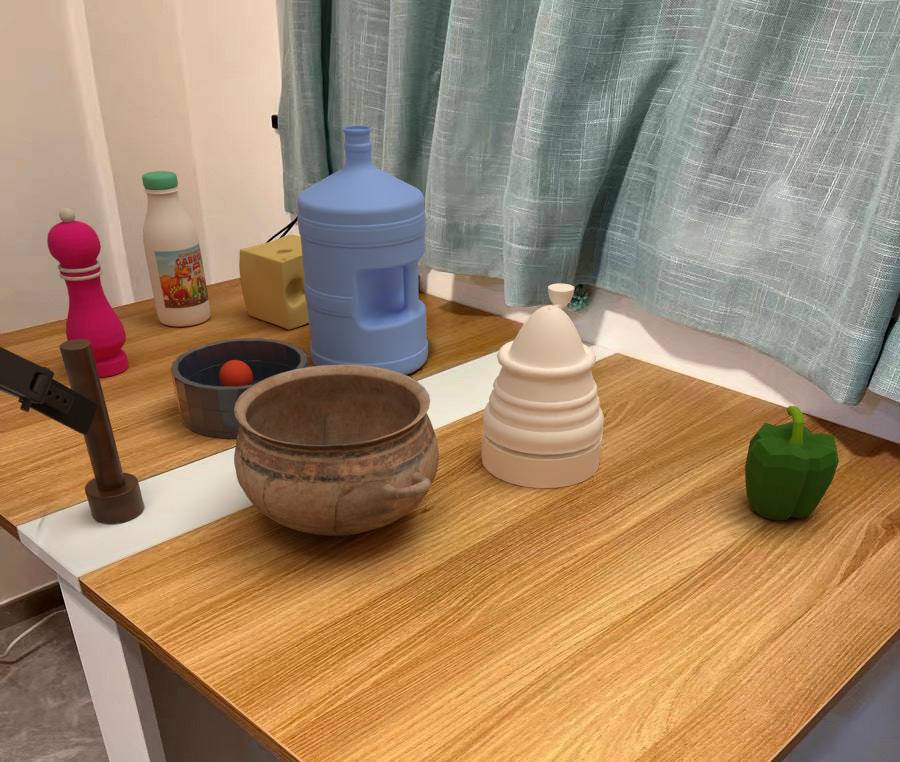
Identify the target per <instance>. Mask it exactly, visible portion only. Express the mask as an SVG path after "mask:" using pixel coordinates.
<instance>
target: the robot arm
mask: <svg viewBox="0 0 900 762" xmlns="http://www.w3.org/2000/svg"><path fill="white" fill-rule="evenodd" d="M55 374H56V373H55V372H54V371H53V370H51V368H49V367H47V366H42V365H39V364H38V363H36V362H33V361H31V360H29V359H27V358H25V357H23V356H21V355H18V354H17V353H14V352H12V351H11V350H8V349H6V348H4V347H3V346H2V347H1V346H0V391H1V392H3V393H6V394H8V395H10V396H12V397H15V398H17V399H18V400H17V402H18V403H20V404H21V405H20V407H19V410H20V411H23V412H25V413H29V412H30V410H31V409H32V410H34V411H36V412H38V413H39V414H42V415H44V416H46V417H48V418H49V419H51V420H53V421H55V422H57V423H59V424H61V425H63V426H65V427H67V428H68V429H70V430H73V431H75V432H76V433H78V434H82V435H83V434H85V435H87V433H88V430H89V428H90V425H91V423H92V420H93V418H94V415H95V413H96V410H97V407H98V404H96V403H95V402H93V401H91V400H89V399H88V398H86V397H84V396H82V395H80V394H79V393H77V392H75V391H73V390H72V389H71V388H70V387H68V386H66V385H64V384H63V383H61V382H60V381H58V380H56V379H54V376H55Z"/></svg>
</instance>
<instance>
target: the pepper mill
mask: <svg viewBox="0 0 900 762" xmlns="http://www.w3.org/2000/svg"><path fill="white" fill-rule="evenodd" d="M58 216H59V218H60V220H61V221H60V222H57V223H55V224H54V225H53V226H52V227H51V228H50V229H49V231H48V233H47V239H46V243H47V248H48V251H49V253H50V255H51V256H52V257H53V259H54V260H56V261H57V262H58V263H59V264H58V265H57V270H58V271H59V277H60V278H61V279H62V280H64V282H65V286H66V288H67V294H68V311H67V318H66V323H65V335H66V336H65V337H66V341H70V340H75V339H83V340H88V341H89V342H90V343H91V347H92V351H93V355H94V359H95V363H96V367H97V371H98V375H99V379H100V378H108V377H113V376H116V375H120V374H121V373H123V372H125V371H127V369H128V368H129V366H130V365H129V360H128V356H127V352H126V351H125V350H123V349H122V348H123V347H124V346H125V343H126V340H127V333H126V331H125V327H124V325H123V322H122V320H121V318H120V317H119V315H118V314H117V312H116V311H115V310H114V308H113V307H112V305H111V304H110V302H109V300H108V298H107V296H106V293H105V292H104V288H103V285H102V281H101V276H102V275H103V269H102V268H101V264H102V263H101V261H99V260H98V257H99V255H100V254H101V250H102V249H101V248H102V246H101V240H100V238H99V235H98V234H97V232H96V230H95V229H94V228H93V227H92V226H91V225H89V224H88V223H85V222H83V221H79V220H76V214H75V212H74V210H73V209H72V208H70V207H62V208H61V209H59V212H58Z"/></svg>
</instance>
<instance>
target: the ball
mask: <svg viewBox="0 0 900 762" xmlns="http://www.w3.org/2000/svg"><path fill="white" fill-rule="evenodd" d="M219 379H220V382H221V384H222V386H223V387H229V386H246V385H252V382H253V374H252V371H251V369H250V367H249V366H248V365H247V364H246V363H244V362H242V361H239V360H231V361H228V362H227V363H225V364H224V365H223V366H222V368H221V370H220V373H219Z"/></svg>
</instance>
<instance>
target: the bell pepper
mask: <svg viewBox="0 0 900 762" xmlns="http://www.w3.org/2000/svg"><path fill="white" fill-rule="evenodd" d="M786 413H787V415H788V416H790V417H791V418H792V421H791V422H785V423H782V424H778V425H775V424H772V423H769V422H764V423H763V424H762V425H761V426H760V428H759V429H758V430H757V432H755V434H754V435H753V437H752V438H751V439H750V441H749V444H748V449H747V453H746V460H745V464H744V475H745V476H744V477H745V478H744V479H745V481H744V482H745V490H746V497H747V501H748V503H749V506H750V508H751V510H752V511H754V512H755V513H756V514H758V516H761V517H762V518H766V519H769V520H773V521H787V520H788V519H789V518H790V517H792V518H796V519H799V518H800V519H801V518H807V517H809V516H810V515H811V514H813V513H814V511H815V510H816V508H817V507H818V505H819V503H820V502H821V501H822V499H823V497H824V496H825V494H826V492H827V491H828V489H829V487H830V486H831V483H832V482H833V480H834V478H835V475H836V471H837V468H838V465H839V462H840V460H839V454H838V448H837V445H836V439H835V436H834V435H833V434H827V433H822V432H819V433H818V432H817V433H814V432H812V431H811V429H810V428H808V427H807V426H805V419H804V414H803V412H802V410H801V408H800V407H798V406H796V405H789V406H788V407H787V408H786Z"/></svg>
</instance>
